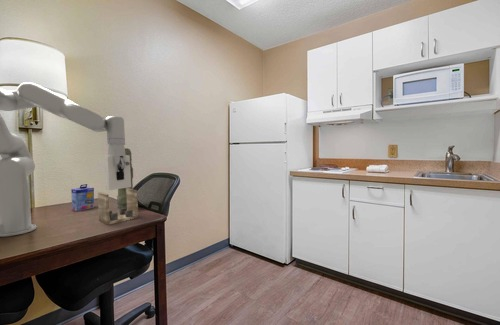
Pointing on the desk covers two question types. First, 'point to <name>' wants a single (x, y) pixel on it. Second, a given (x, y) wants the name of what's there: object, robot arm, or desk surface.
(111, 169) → the white rectangular block
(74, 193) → the ink cartridge box
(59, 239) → the desk surface
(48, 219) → the desk surface
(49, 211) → the desk surface
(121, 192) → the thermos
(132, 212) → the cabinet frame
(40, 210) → the desk surface
